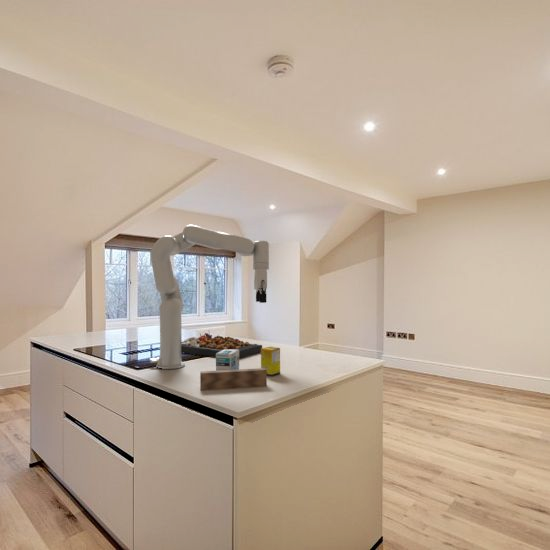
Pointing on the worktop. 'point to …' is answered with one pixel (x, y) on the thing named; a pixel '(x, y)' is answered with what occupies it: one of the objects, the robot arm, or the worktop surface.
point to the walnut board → (233, 378)
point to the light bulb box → (227, 360)
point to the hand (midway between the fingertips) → (261, 302)
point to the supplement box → (271, 360)
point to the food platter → (218, 346)
